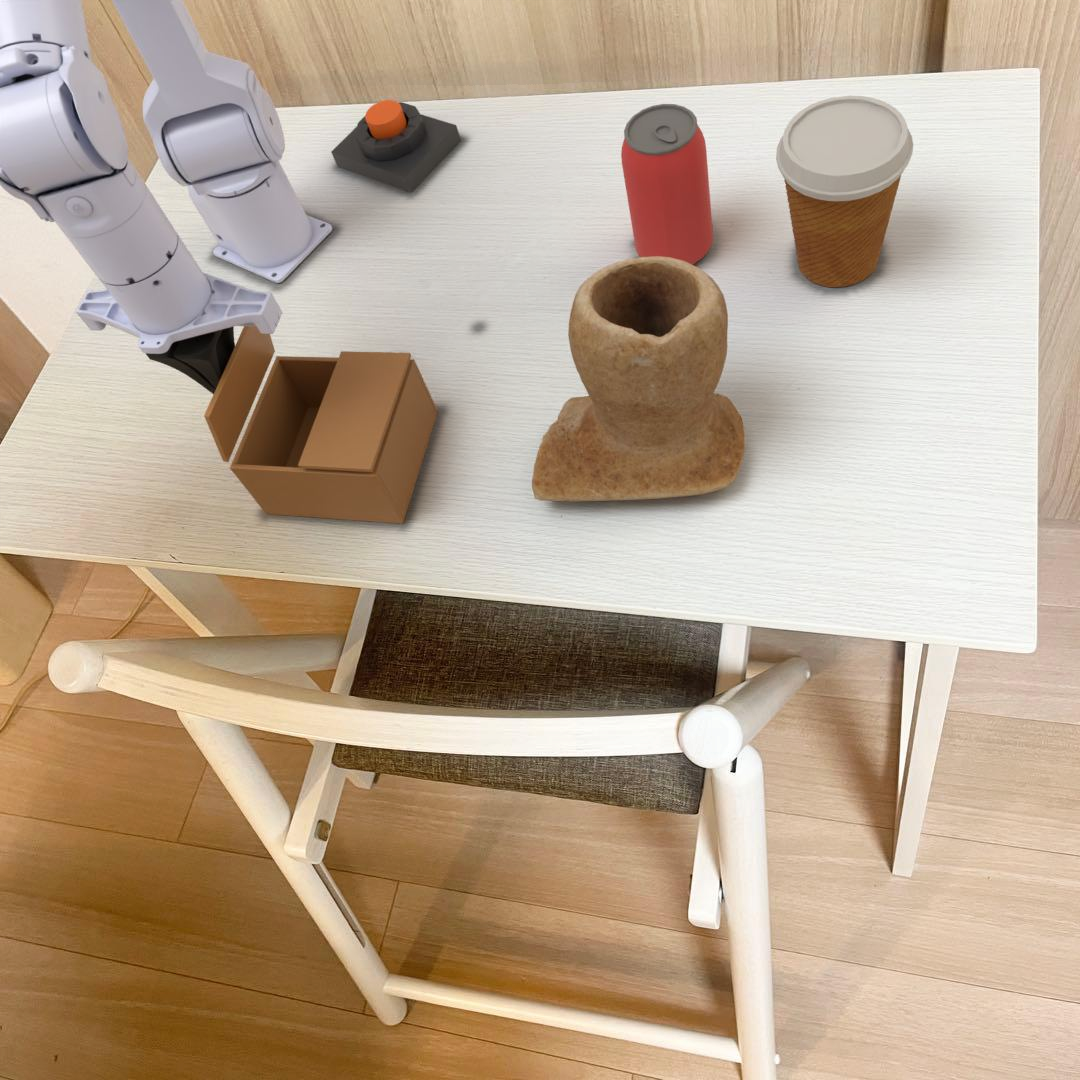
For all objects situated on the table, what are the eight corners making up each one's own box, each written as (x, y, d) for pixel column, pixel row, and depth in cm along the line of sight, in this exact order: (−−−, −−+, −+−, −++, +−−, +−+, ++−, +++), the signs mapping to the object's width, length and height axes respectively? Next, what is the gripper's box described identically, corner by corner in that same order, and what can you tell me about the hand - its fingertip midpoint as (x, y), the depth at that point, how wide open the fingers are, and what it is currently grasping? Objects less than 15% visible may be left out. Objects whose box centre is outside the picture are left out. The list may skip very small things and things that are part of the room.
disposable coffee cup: (763, 294, 83) (760, 173, 73) (794, 212, 87) (795, 87, 77) (884, 311, 80) (898, 186, 70) (911, 224, 84) (928, 95, 74)
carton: (265, 514, 82) (224, 461, 76) (307, 406, 87) (272, 349, 81) (403, 523, 78) (371, 470, 72) (438, 411, 83) (411, 352, 77)
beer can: (661, 286, 86) (644, 168, 76) (622, 242, 89) (601, 125, 79) (728, 249, 86) (721, 128, 76) (687, 208, 90) (674, 86, 80)
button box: (337, 167, 103) (324, 138, 100) (387, 118, 106) (376, 87, 103) (411, 193, 98) (400, 163, 96) (461, 141, 101) (451, 110, 98)
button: (363, 134, 100) (357, 119, 98) (386, 111, 101) (381, 96, 99) (391, 143, 98) (385, 128, 97) (414, 120, 99) (408, 104, 98)
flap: (228, 462, 76) (223, 461, 76) (275, 351, 81) (270, 350, 81) (209, 416, 71) (203, 415, 71) (260, 301, 76) (255, 300, 76)
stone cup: (745, 379, 79) (737, 229, 66) (745, 510, 73) (737, 372, 60) (552, 389, 82) (510, 248, 70) (537, 515, 76) (488, 386, 64)
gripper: (15, 298, 66) (129, 427, 77) (213, 300, 62) (302, 436, 73) (62, 220, 69) (164, 355, 80) (252, 217, 65) (332, 359, 76)
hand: (232, 389), depth 77 cm, fingers closed
